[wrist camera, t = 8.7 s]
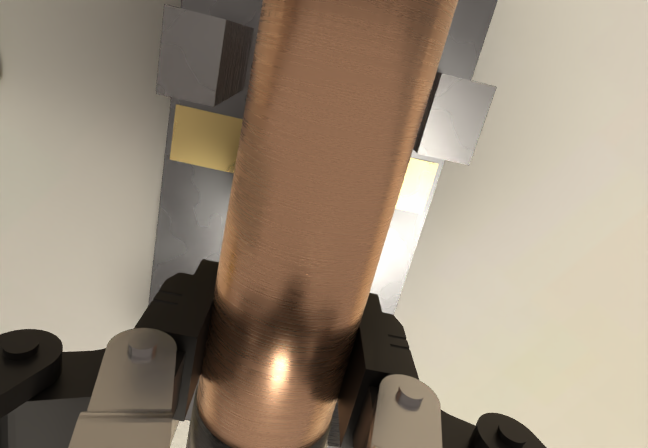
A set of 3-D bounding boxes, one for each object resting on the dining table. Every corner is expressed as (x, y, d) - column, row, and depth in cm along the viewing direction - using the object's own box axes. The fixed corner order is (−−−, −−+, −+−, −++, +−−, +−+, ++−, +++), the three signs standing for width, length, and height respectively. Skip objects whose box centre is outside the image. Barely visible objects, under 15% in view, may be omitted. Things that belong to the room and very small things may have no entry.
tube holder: (349, 430, 23) (359, 555, 17) (144, 396, 22) (84, 517, 16) (490, -9, 16) (587, -40, 10) (200, -87, 15) (130, -169, 9)
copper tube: (280, -43, 10) (257, -91, 7) (439, -1, 10) (495, -27, 7) (186, 497, 16) (148, 620, 13) (289, 514, 16) (280, 639, 13)
